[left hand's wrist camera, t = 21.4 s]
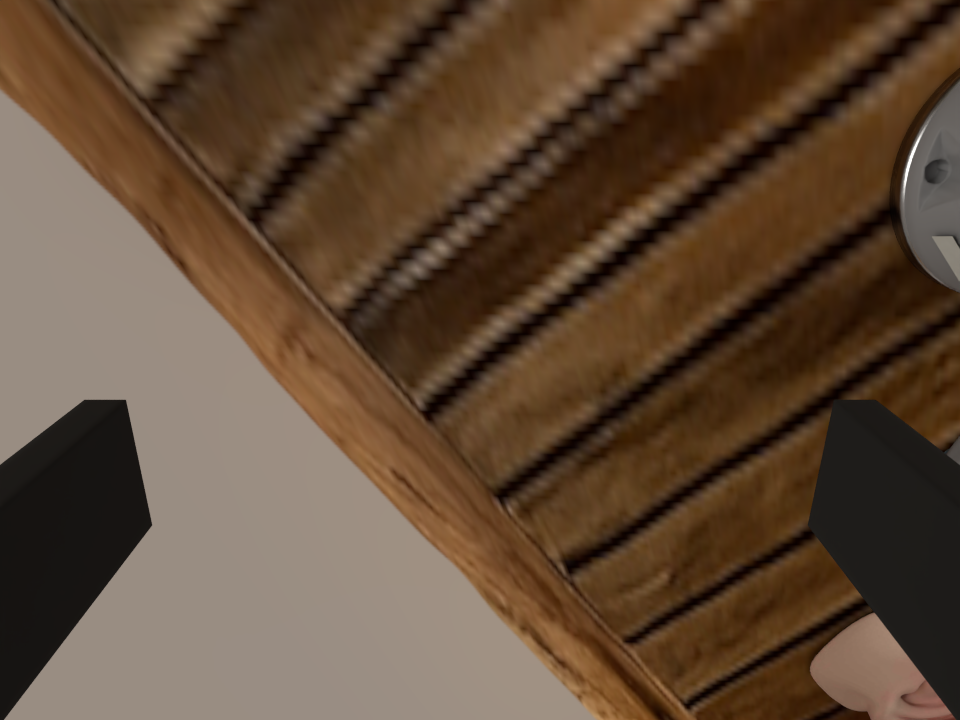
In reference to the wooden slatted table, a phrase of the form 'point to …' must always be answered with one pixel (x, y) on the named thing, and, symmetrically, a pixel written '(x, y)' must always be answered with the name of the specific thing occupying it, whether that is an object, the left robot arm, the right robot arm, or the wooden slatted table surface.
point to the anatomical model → (875, 675)
